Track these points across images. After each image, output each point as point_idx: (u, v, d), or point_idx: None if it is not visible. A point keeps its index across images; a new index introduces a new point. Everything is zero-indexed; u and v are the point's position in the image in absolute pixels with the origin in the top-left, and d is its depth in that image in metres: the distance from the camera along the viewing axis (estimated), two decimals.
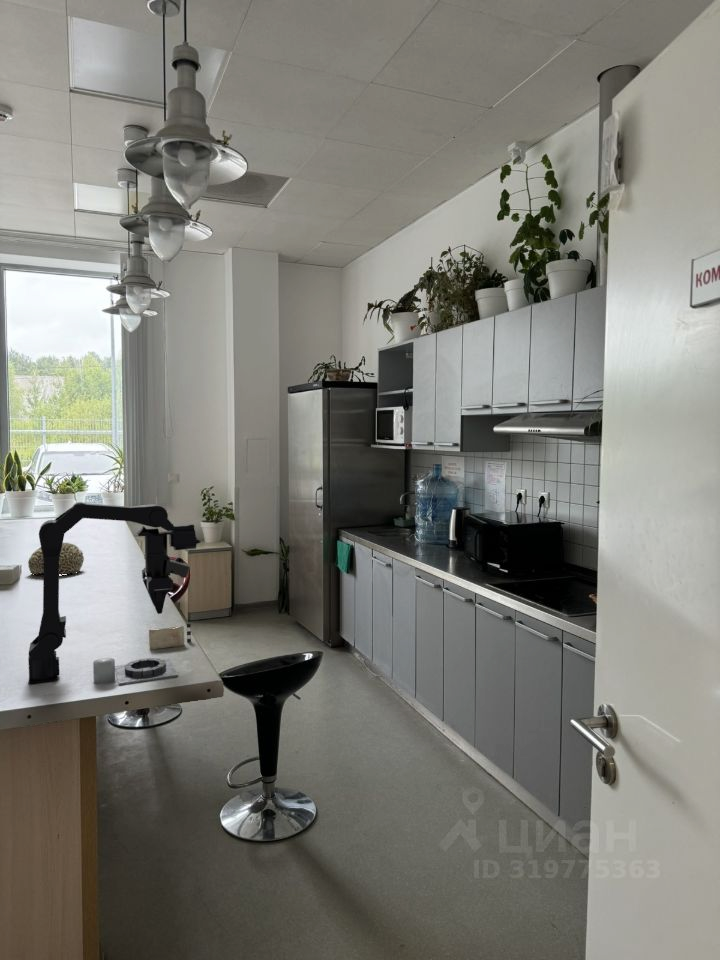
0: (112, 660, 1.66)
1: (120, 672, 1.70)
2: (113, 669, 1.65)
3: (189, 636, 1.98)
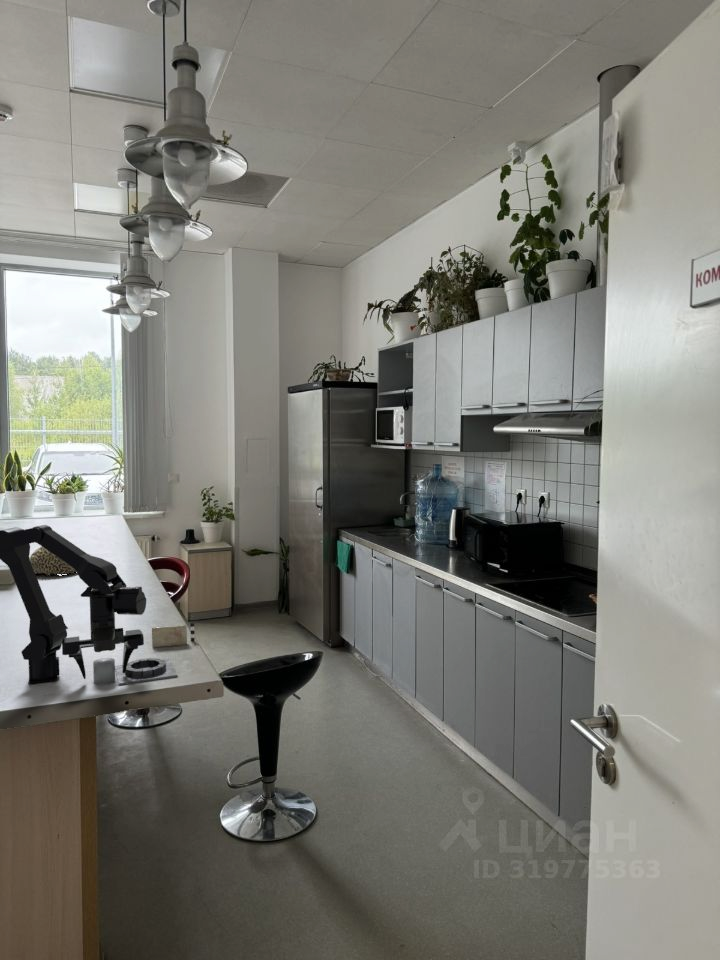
0: (112, 660, 1.66)
1: (120, 672, 1.70)
2: (113, 669, 1.65)
3: (193, 635, 1.99)
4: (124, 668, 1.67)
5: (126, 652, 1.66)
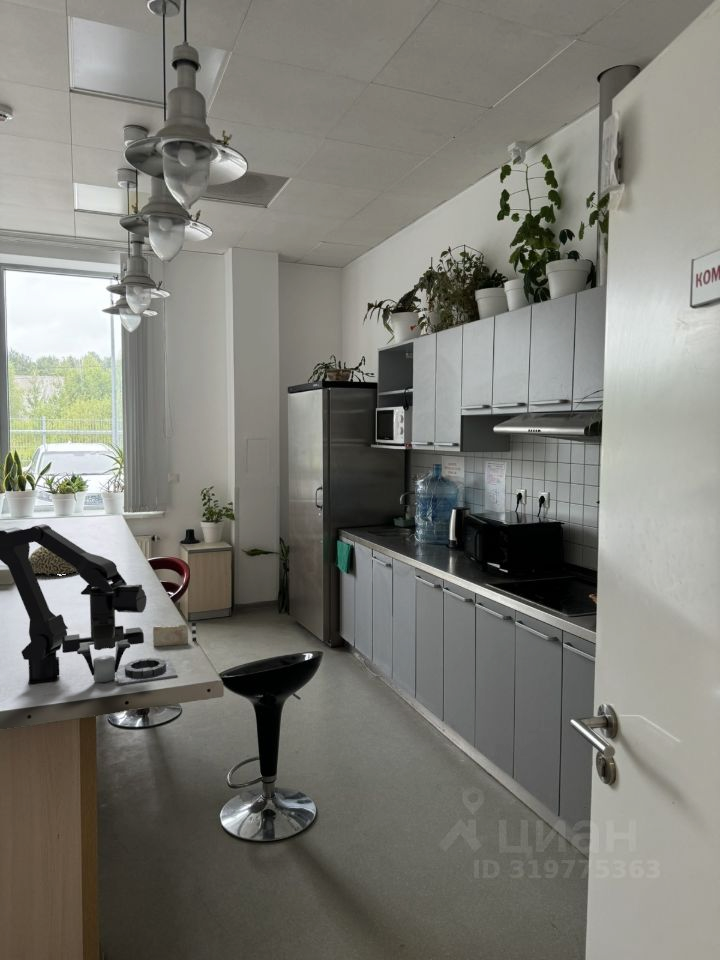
0: (112, 658, 1.66)
1: (120, 672, 1.70)
2: (113, 667, 1.65)
3: (194, 635, 1.99)
4: (116, 667, 1.66)
5: (118, 651, 1.65)
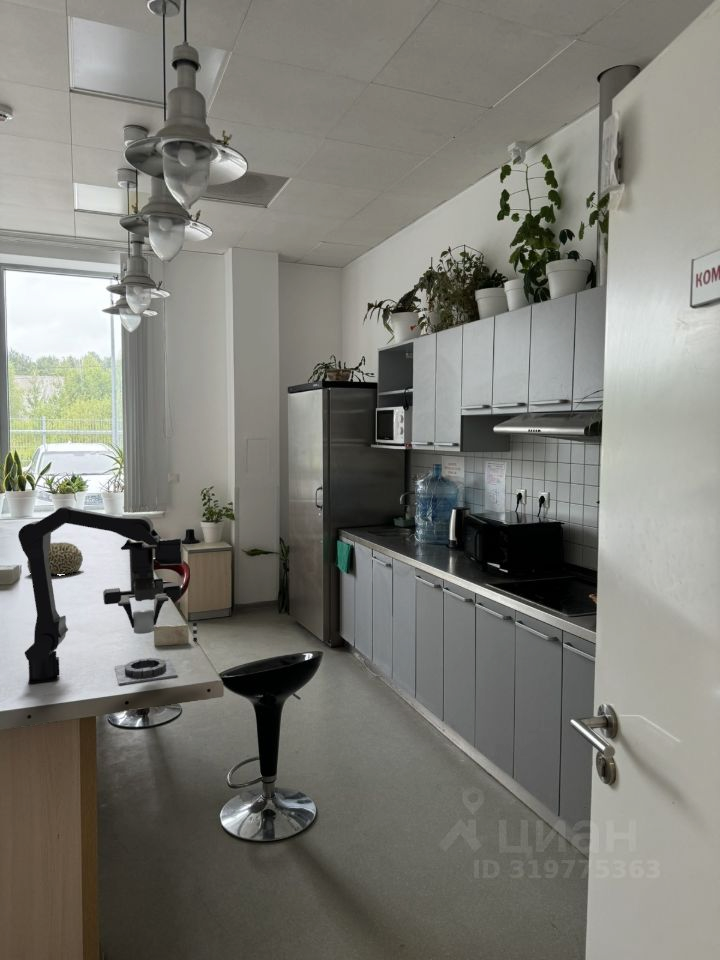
0: (151, 611, 1.71)
1: (120, 672, 1.70)
2: (152, 619, 1.70)
3: (195, 635, 1.99)
4: (155, 620, 1.71)
5: (157, 604, 1.70)
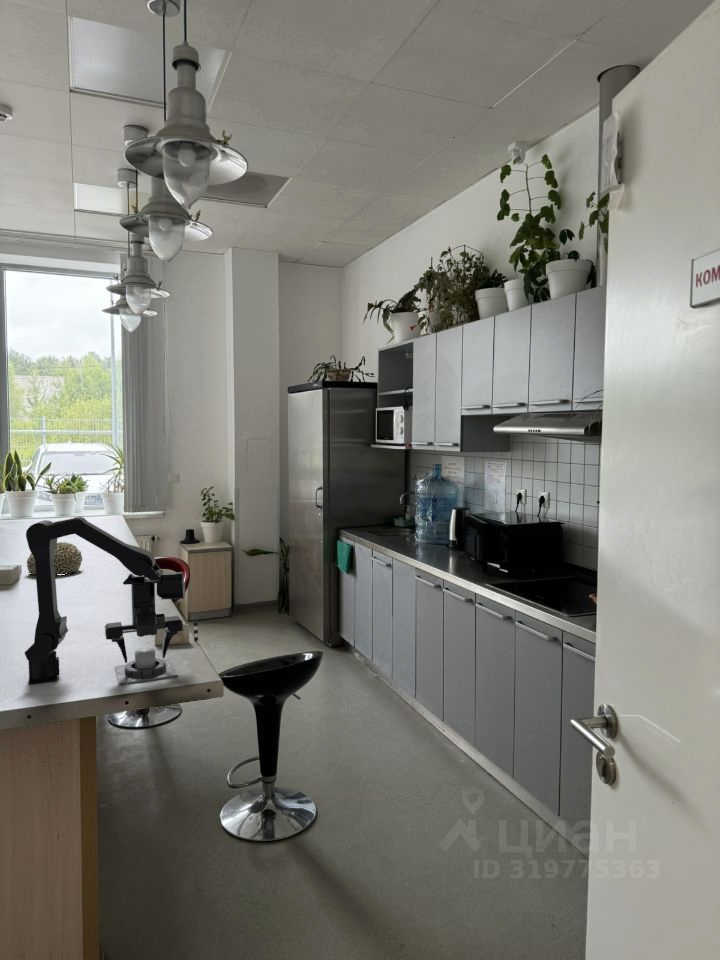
0: (153, 650, 1.72)
1: (120, 672, 1.70)
2: (153, 659, 1.71)
3: (196, 635, 1.99)
4: (164, 653, 1.73)
5: (166, 637, 1.72)
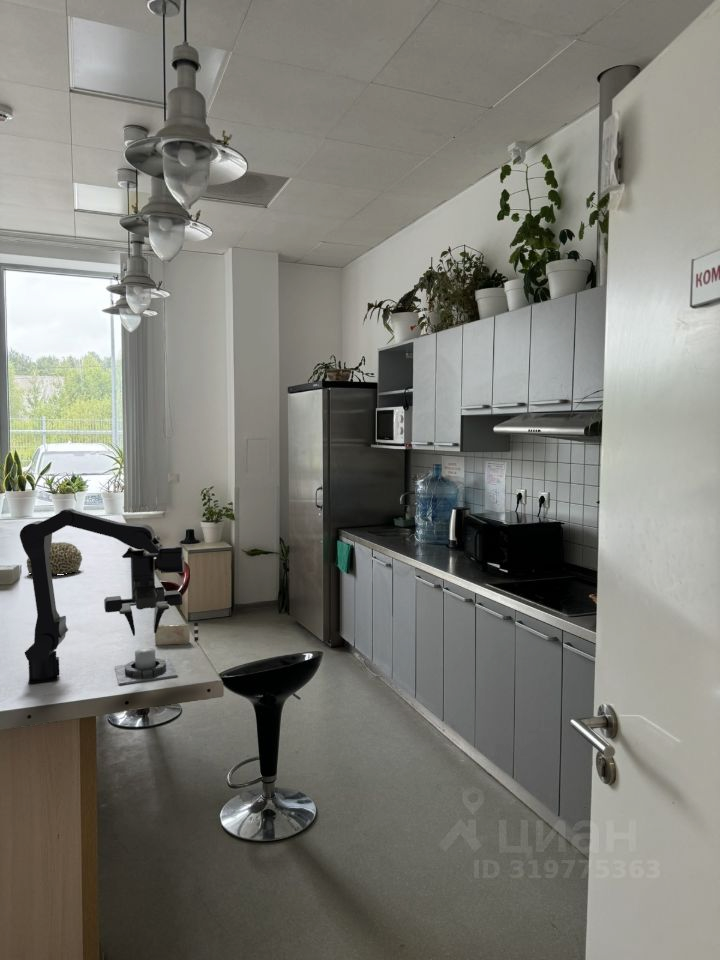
0: (153, 650, 1.72)
1: (120, 672, 1.70)
2: (154, 659, 1.71)
3: (196, 635, 1.99)
4: (155, 628, 1.72)
5: (158, 612, 1.71)
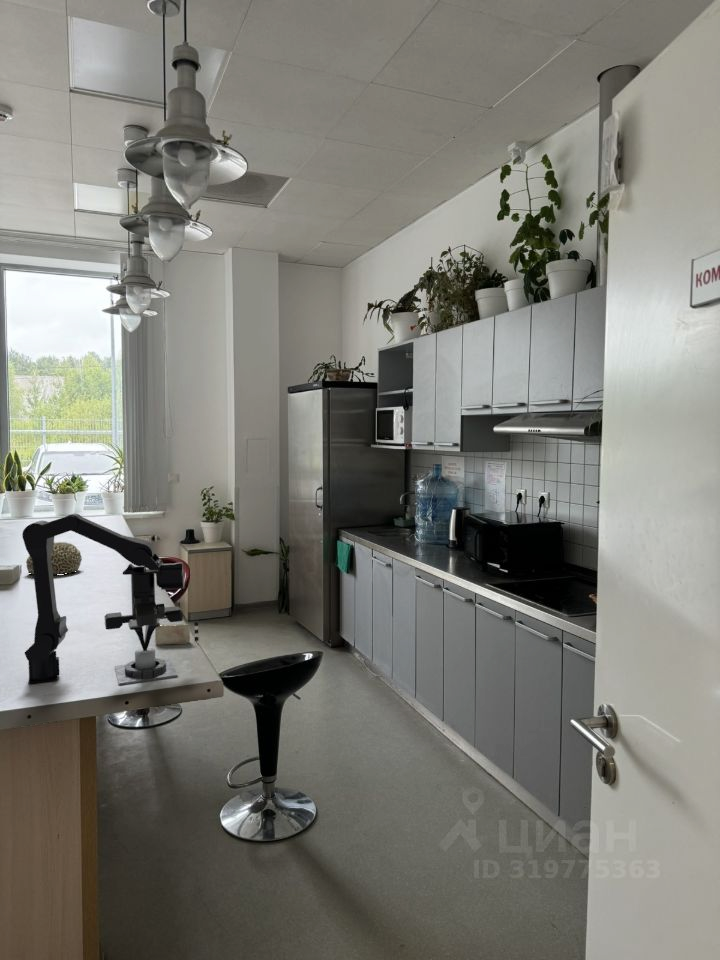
0: (153, 650, 1.72)
1: (120, 672, 1.70)
2: (153, 659, 1.71)
3: (197, 634, 1.99)
4: (146, 645, 1.71)
5: (148, 630, 1.70)
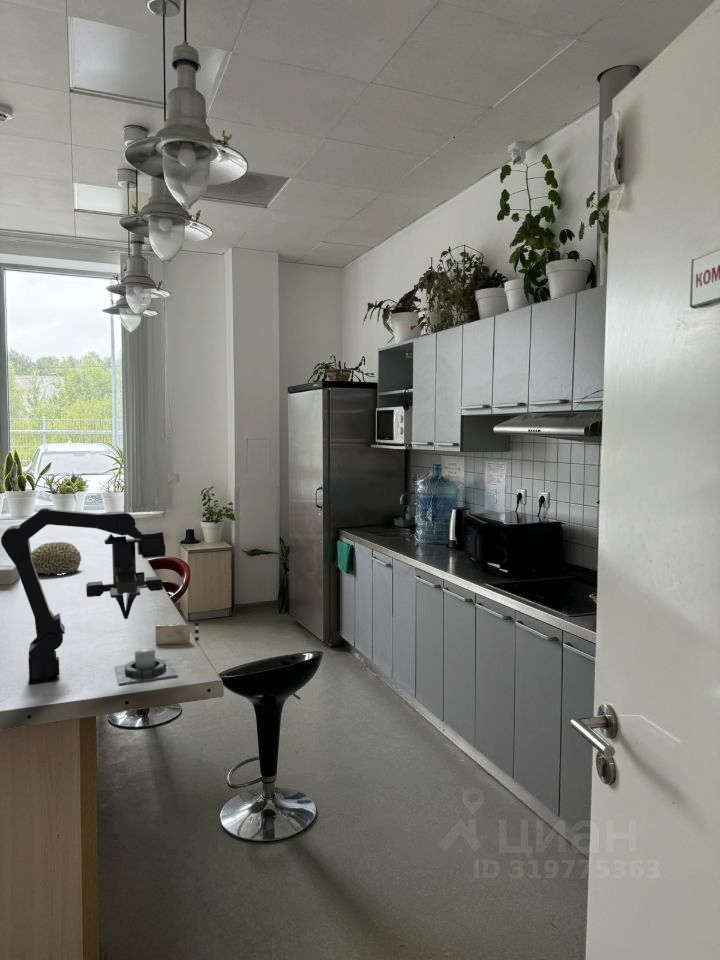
0: (153, 650, 1.72)
1: (120, 672, 1.70)
2: (153, 659, 1.71)
3: (197, 634, 1.99)
4: (127, 614, 1.74)
5: (129, 598, 1.73)
